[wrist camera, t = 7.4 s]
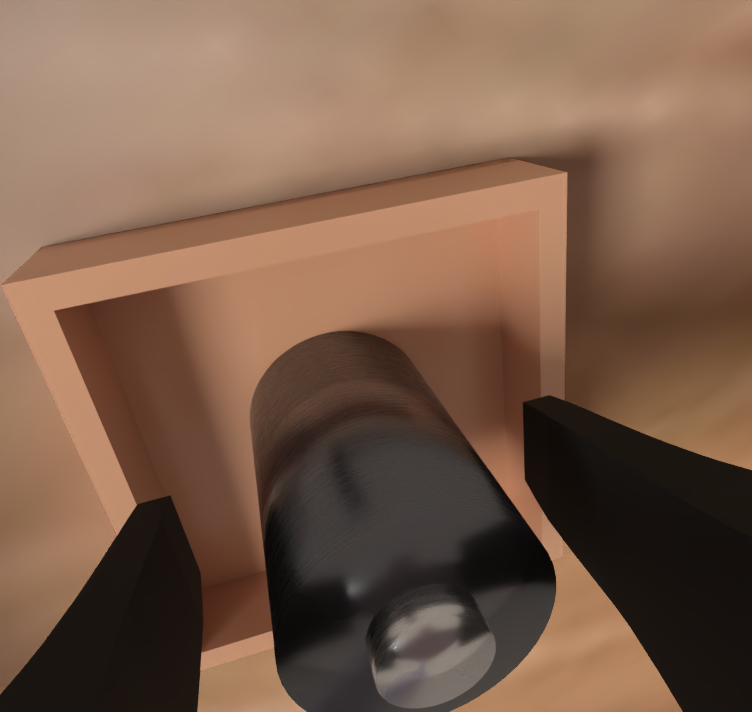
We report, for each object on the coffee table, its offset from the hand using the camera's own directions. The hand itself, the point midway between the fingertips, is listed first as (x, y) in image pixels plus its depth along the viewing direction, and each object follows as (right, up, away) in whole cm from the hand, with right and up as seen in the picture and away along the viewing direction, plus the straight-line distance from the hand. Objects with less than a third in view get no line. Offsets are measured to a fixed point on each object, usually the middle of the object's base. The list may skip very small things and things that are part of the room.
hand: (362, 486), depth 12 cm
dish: (-1, +2, +3) cm, 4 cm away
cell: (-1, +1, +3) cm, 3 cm away
